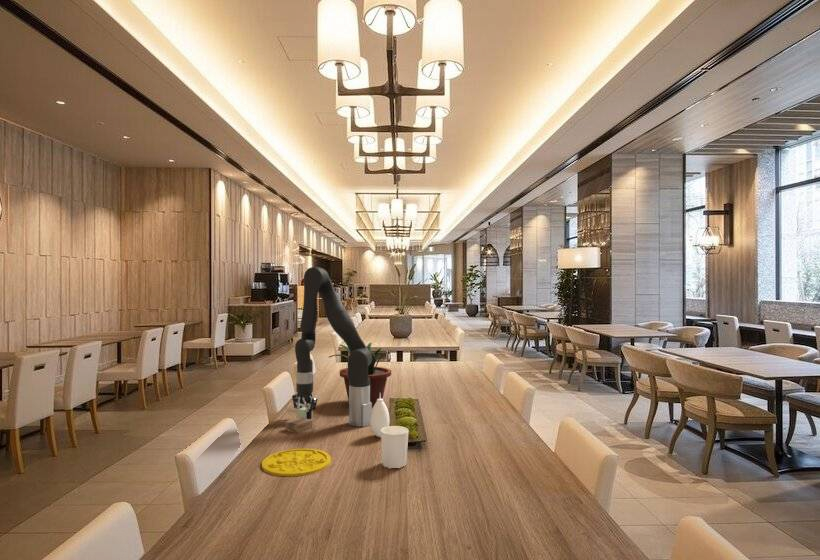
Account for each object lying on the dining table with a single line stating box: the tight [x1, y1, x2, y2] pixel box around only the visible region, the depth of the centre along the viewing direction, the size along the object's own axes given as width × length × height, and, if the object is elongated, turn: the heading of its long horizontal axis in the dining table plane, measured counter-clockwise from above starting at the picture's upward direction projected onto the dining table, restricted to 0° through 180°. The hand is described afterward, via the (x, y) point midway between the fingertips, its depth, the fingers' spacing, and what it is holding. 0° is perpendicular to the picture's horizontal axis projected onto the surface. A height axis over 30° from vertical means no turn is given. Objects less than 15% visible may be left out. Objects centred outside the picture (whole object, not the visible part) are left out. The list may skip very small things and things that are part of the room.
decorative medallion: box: [261, 448, 332, 477], centre depth 169 cm, size 24×24×2 cm
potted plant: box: [328, 342, 392, 409], centre depth 249 cm, size 35×32×30 cm
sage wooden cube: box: [296, 406, 313, 420], centre depth 220 cm, size 5×5×5 cm
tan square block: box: [284, 417, 314, 434], centre depth 207 cm, size 8×8×4 cm
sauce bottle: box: [369, 394, 390, 438], centre depth 198 cm, size 8×8×18 cm
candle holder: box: [380, 425, 410, 469], centre depth 168 cm, size 10×10×12 cm
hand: (304, 418), depth 220 cm, fingers closed on sage wooden cube, 5 cm apart
